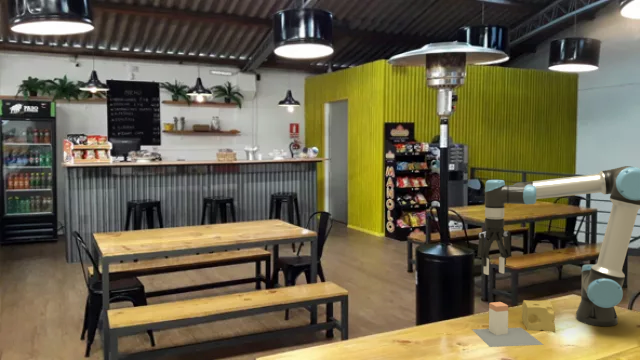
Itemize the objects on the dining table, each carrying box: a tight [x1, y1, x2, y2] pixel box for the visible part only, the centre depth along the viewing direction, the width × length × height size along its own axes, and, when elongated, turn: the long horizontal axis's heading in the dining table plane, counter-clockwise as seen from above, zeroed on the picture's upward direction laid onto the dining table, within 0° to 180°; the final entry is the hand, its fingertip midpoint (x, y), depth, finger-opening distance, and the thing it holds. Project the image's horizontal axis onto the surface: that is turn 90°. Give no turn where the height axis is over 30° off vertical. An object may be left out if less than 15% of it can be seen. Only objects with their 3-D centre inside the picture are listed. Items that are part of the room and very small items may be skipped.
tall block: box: [488, 301, 509, 335], centre depth 205 cm, size 5×5×11 cm
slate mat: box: [471, 327, 545, 348], centre depth 200 cm, size 20×18×1 cm
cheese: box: [521, 299, 556, 334], centre depth 211 cm, size 10×11×10 cm
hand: (493, 273), depth 219 cm, fingers open, 6 cm apart
